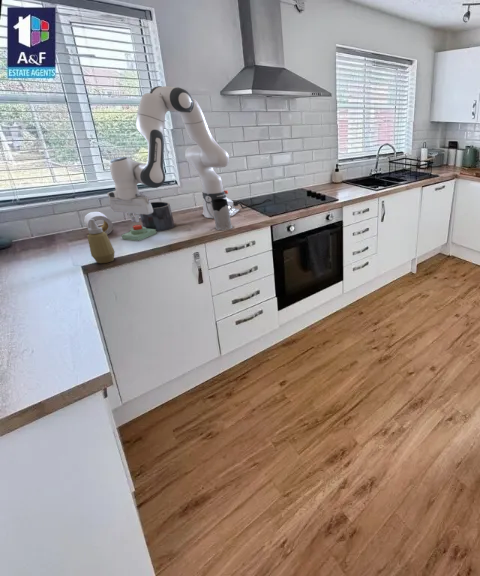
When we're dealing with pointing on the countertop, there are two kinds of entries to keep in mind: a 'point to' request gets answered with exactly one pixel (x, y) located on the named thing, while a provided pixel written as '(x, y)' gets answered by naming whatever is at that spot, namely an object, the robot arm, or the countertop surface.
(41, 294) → the countertop surface
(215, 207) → the grey and black mug
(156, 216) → the dark grey round container
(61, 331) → the countertop surface
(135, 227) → the button
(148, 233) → the base
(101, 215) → the toilet paper
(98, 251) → the squeeze bottle
